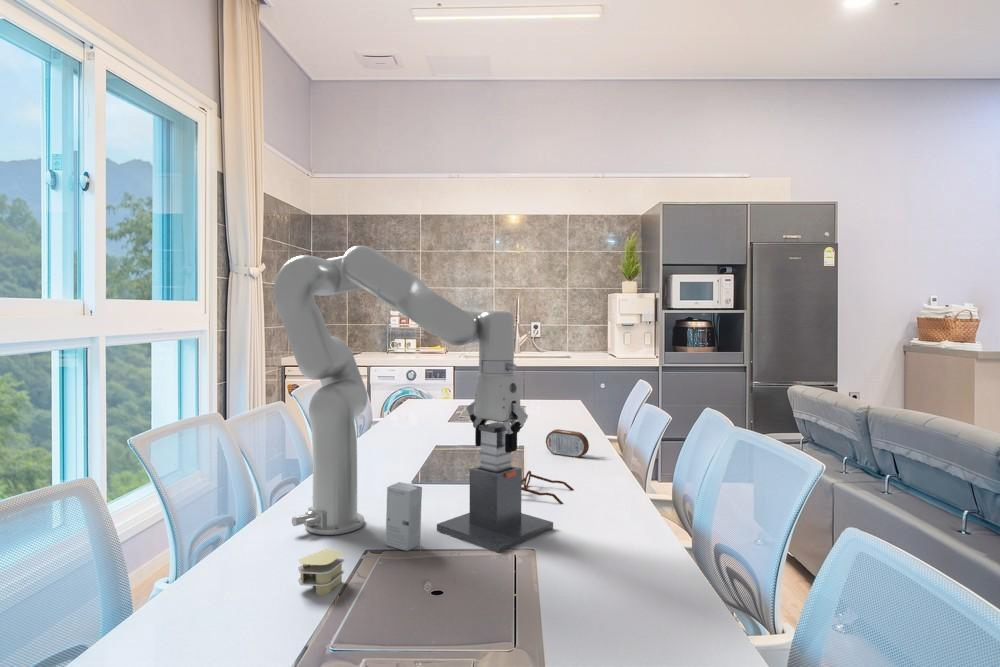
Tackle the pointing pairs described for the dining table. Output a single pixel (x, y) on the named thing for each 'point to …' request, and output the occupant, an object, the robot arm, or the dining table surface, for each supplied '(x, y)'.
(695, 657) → the dining table surface
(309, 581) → the beige layered block
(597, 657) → the dining table surface
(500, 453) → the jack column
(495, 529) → the base
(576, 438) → the tin
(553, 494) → the glasses
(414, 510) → the skincare box
